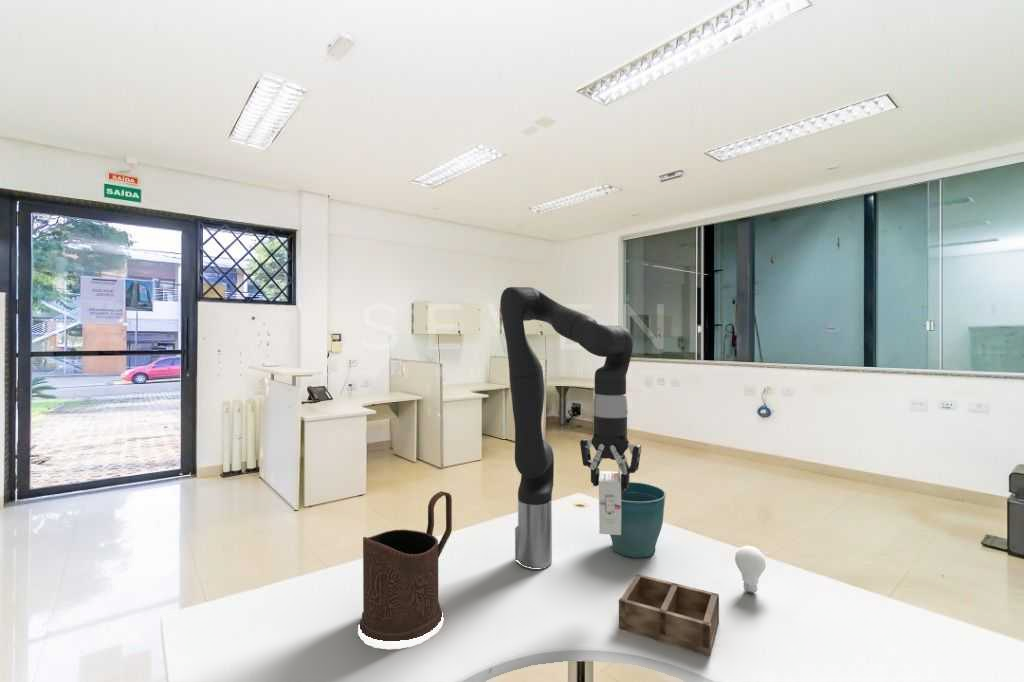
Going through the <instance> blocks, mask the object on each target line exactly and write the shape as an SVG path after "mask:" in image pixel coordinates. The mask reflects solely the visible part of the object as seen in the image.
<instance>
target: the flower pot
mask: <svg viewBox="0 0 1024 682" xmlns="http://www.w3.org/2000/svg"><path fill="white" fill-rule="evenodd" d="M666 496H667V494H666V491H665V490H663V489H662V488H660V487H658V486H655V485H652V484H649V483H643V482H635V481H632V482H631V481H629V487H628V488H627V489H626V490H625V491H621V535H611V534H609V536H610V539H611V542H612V549H613V550H614V552H616V553H617V554H619V555H621V556H624V557H629V558H634V559H636V558H637V559H638V558H639V559H641V558H647V557H650V556H651V557H652V555H653V554H655V552H656V547H657V542H658V540H659V539H658V538H659V536H660V533H661V531H662V527H663V523H664V514H665V501H666Z"/></svg>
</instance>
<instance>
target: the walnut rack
mask: <svg viewBox="0 0 1024 682" xmlns="http://www.w3.org/2000/svg"><path fill="white" fill-rule="evenodd" d="M719 623H720V594H719V593H716V592H713V591H712V592H711V591H707V590H705V589H704V590H703V589H700V588H696V587H692V586H687V585H683V584H680V583H675V582H671V581H667V580H662V579H660V578H655V577H652V576H648V575H643V574H639V573H635V574H634V578H632V581H631V582H630V583H629V585H628V586H627V588H626V589H625V592H623V594H622V596H621V597H620V598H619V599H618V629H620V630H623V631H626V632H629V633H633V634H635V635H639V636H641V637H646V638H648V639H652V640H655V641H658V642H661V643H664V644H667V645H670V646H674V647H677V648H681V649H684V650H687V651H690V652H693V653H696V654H699V655H703V656H706V657H709V658H711V655H712V653H713V647H714V643H715V641H716V636H717V631H718V627H719Z"/></svg>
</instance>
